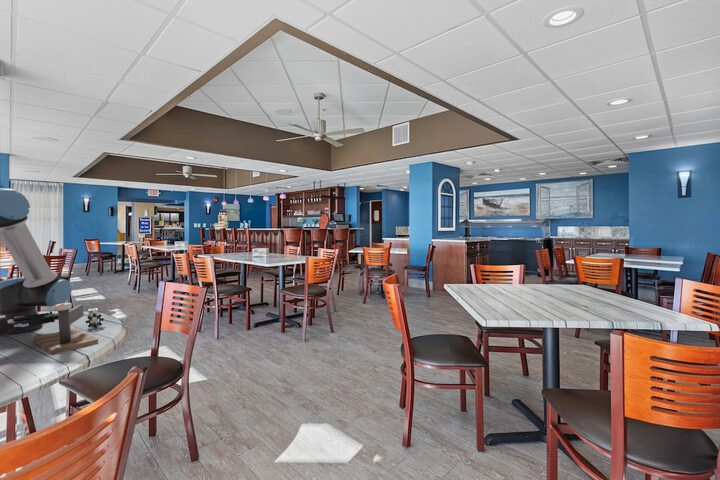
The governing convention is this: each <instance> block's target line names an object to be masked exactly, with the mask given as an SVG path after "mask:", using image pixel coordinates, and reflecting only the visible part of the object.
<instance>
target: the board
mask: <svg viewBox="0 0 720 480" xmlns="http://www.w3.org/2000/svg"><path fill="white" fill-rule="evenodd" d="M70 333H71V341H70V342H68V343H60V336H59V331H56V332H54V333H52V332H51V333H48V334H43V335H38V336H34V337H32V339H33V342H34V343H35V344H37V345H38V346H39V347H41V348H42V349H44V350H45V351H46V352H47V353H49V354H51V355H55V354H58V353H63V352H67V351H71V350H75V349H79V348H83V347H86V346H87V347H88V346H91V345H95V344H98V343H99V338H97V337H96V336H94V335H91V334H89V333H88V332H86V331H83V330H81V329H80V328H78V327H77V328H72V329H71V328H70Z"/></svg>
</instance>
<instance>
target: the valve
mask: <svg viewBox="0 0 720 480" xmlns="http://www.w3.org/2000/svg"><path fill="white" fill-rule="evenodd" d="M101 317H102V318H101ZM86 318H87V320H85V321H84V322H85V324H88V325H87V327H88V328H91V327H93V328H94V329H95V328H97V327H98V325H99V326H102V325H103V323H102V322H103V321H104V320H105V318H104V317H103V315H102V314H101V313H99V312H98V308H89V309H88V314H87V317H86Z"/></svg>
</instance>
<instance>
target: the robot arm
mask: <svg viewBox="0 0 720 480" xmlns="http://www.w3.org/2000/svg"><path fill="white" fill-rule="evenodd" d="M30 205H31V204H30V202H29V200H28V198H27V197H26V196H25V195H24V194H23V193H21V192H20V191H17V190H16V189H15V190H14V189H12V188H3V187H0V239H1V240H2V242H3V244H4V246H5V247H6V249H7V251H8V252H9V255H11V258H12V259H13V261H14V263H15V265H16V266H17V268H18V269H19V271H20V273H21V274H22V277H16V278H10V279H4V280H1V281H0V338H1V337H5V336H8V335H16V334H21V333H22V334H23V333H27V332H30V331H34V330H35V331H36V330H37V329H41V328H42V327H43V326H44V325H46V324H49V323H56V322H55V321H59V319H58V311H55V312H53V311H52V310H51V311H49V312H45V313H39V312H38V310H37V307H55V305H57V304H61V303H67V301H68V300H69V298H70V297H71V294H72V291H73V286H72V283H71V282H70V281H69V280H68V279H64V278H63V279H62V278H60V276H59V274H58V272H57V271H54V270H51V268H50V266H49V264H48V263H47V261H46V259H45V258H44V257H45V256H44V254H42V252H41V250H40V248H39V245H38V244H37V242H36V240H35V238H34V236H33V234H32V233H31V231H30V228H29V227H28V225H27V223H26V222H27V221H28V215H29V213H30V208H31V206H30Z"/></svg>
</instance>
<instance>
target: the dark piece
mask: <svg viewBox="0 0 720 480" xmlns="http://www.w3.org/2000/svg"><path fill="white" fill-rule="evenodd" d="M72 304H73V303H71V302H65V303H61V304H57V305H55V306H54V311H55V312H58V319H59V320H58V332H59V336H60V343H68V342H70V341H71V333H70V330H71V325H72V324H73V323H75V322H76V321H78V320H80V319H82V318H83V317H84V304H82V303H81V304H78V305H77V304H76V305H75V306H74V307H72Z"/></svg>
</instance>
